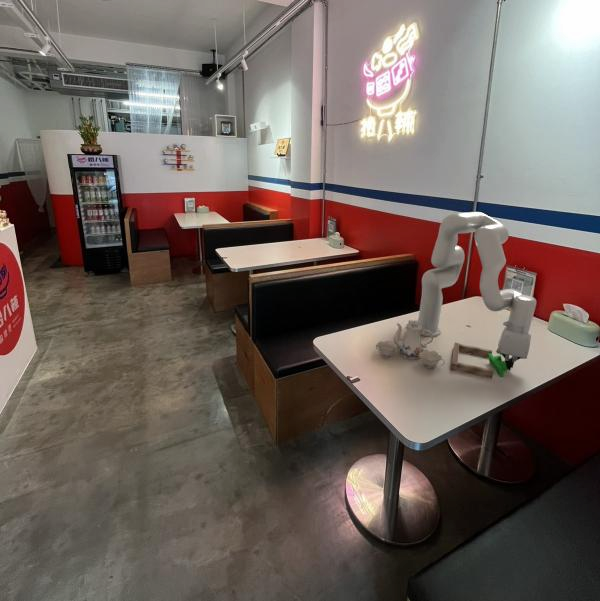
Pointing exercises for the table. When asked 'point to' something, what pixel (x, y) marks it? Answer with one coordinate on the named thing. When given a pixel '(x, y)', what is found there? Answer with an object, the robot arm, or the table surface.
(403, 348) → the chinaware
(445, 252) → the robot arm
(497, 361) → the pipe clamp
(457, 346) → the frame
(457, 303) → the table surface
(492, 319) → the table surface
